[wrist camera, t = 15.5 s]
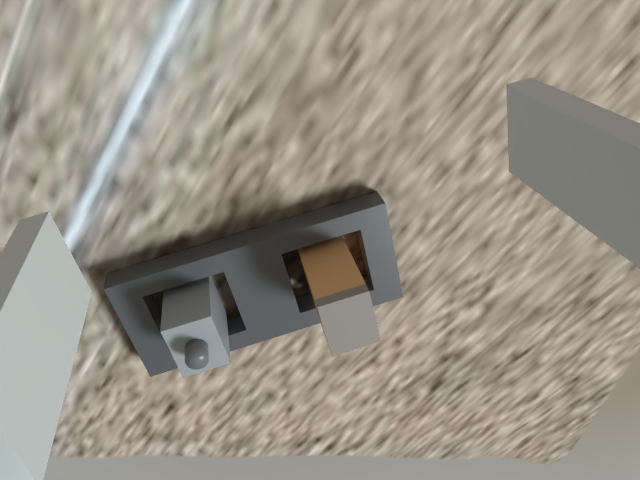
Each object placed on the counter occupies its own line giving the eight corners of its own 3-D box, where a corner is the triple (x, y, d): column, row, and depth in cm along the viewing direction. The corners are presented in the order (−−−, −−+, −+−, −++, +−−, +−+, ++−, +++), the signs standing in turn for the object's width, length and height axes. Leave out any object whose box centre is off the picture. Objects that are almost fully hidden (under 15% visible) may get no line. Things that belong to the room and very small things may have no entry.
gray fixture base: (152, 358, 52) (145, 427, 45) (107, 273, 47) (91, 335, 39) (394, 282, 53) (426, 337, 46) (376, 191, 48) (409, 237, 41)
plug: (308, 286, 52) (332, 356, 43) (295, 241, 49) (317, 307, 40) (349, 273, 52) (380, 341, 43) (338, 228, 49) (369, 291, 41)
